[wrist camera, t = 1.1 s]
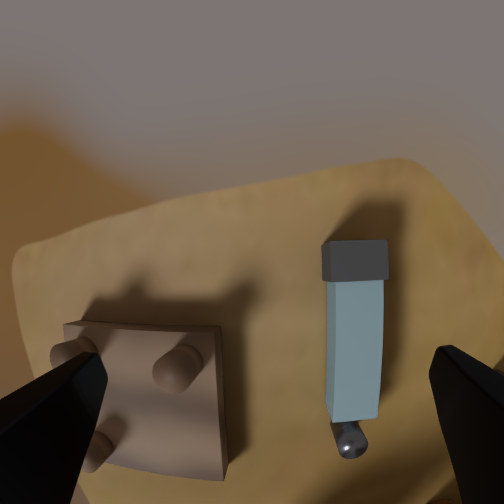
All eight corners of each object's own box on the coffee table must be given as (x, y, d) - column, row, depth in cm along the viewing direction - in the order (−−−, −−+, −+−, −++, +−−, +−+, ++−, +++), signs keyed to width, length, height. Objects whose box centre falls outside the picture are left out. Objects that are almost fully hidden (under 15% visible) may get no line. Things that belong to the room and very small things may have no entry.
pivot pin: (354, 431, 21) (366, 457, 17) (329, 434, 21) (337, 460, 17) (356, 409, 21) (369, 433, 17) (331, 412, 22) (339, 436, 18)
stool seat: (228, 464, 22) (216, 504, 16) (99, 445, 23) (69, 472, 17) (220, 326, 23) (203, 343, 17) (80, 320, 23) (38, 329, 18)
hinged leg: (368, 398, 21) (382, 418, 17) (321, 402, 21) (328, 424, 18) (370, 244, 22) (387, 239, 18) (321, 245, 22) (329, 240, 18)
